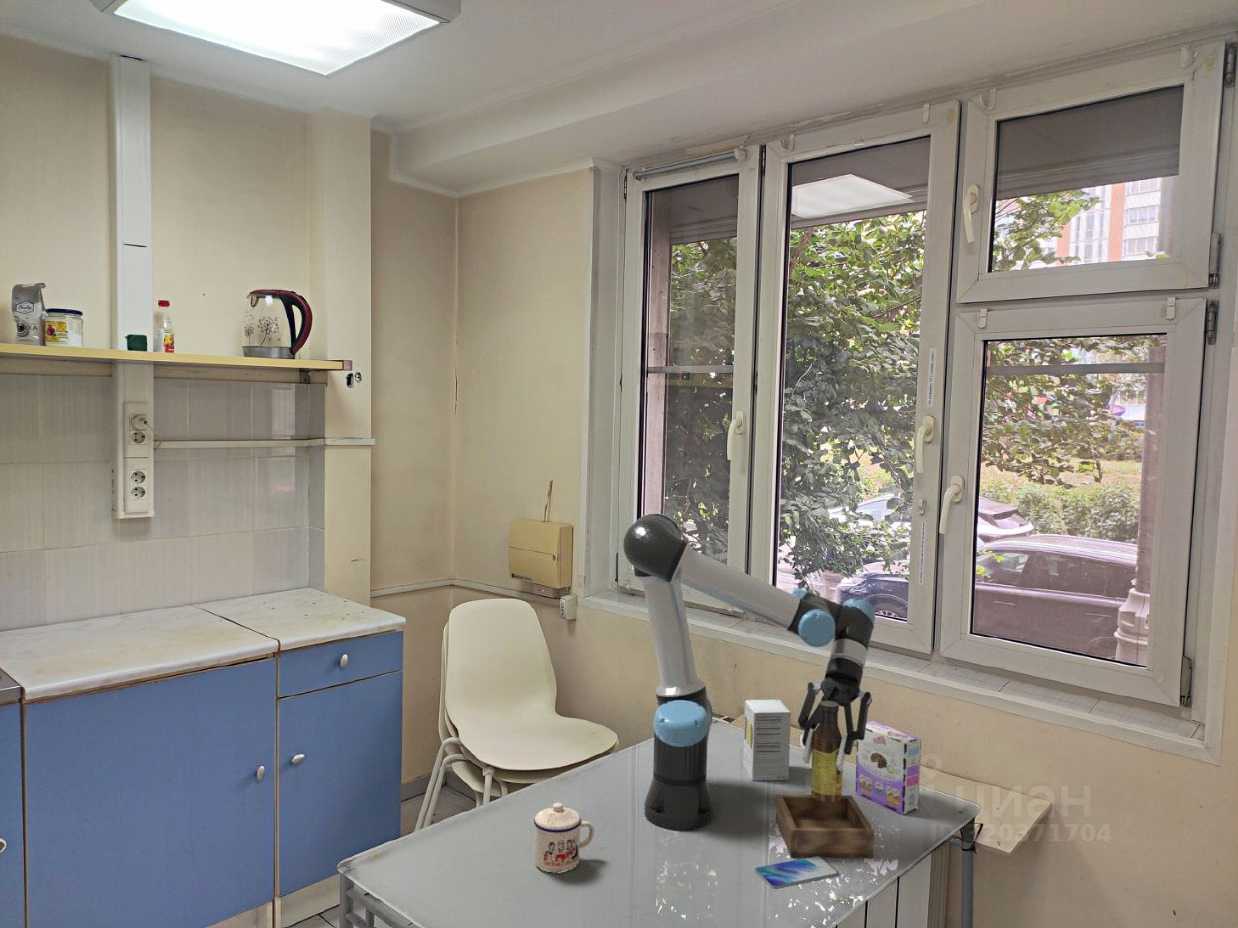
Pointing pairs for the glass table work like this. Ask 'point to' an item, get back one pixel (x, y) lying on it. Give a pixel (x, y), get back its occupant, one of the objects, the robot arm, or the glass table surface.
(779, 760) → the supplement box
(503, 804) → the glass table surface
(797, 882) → the smartphone
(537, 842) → the teacup with lid
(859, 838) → the walled box
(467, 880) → the glass table surface
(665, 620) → the robot arm
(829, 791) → the sauce bottle
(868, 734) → the candy box
